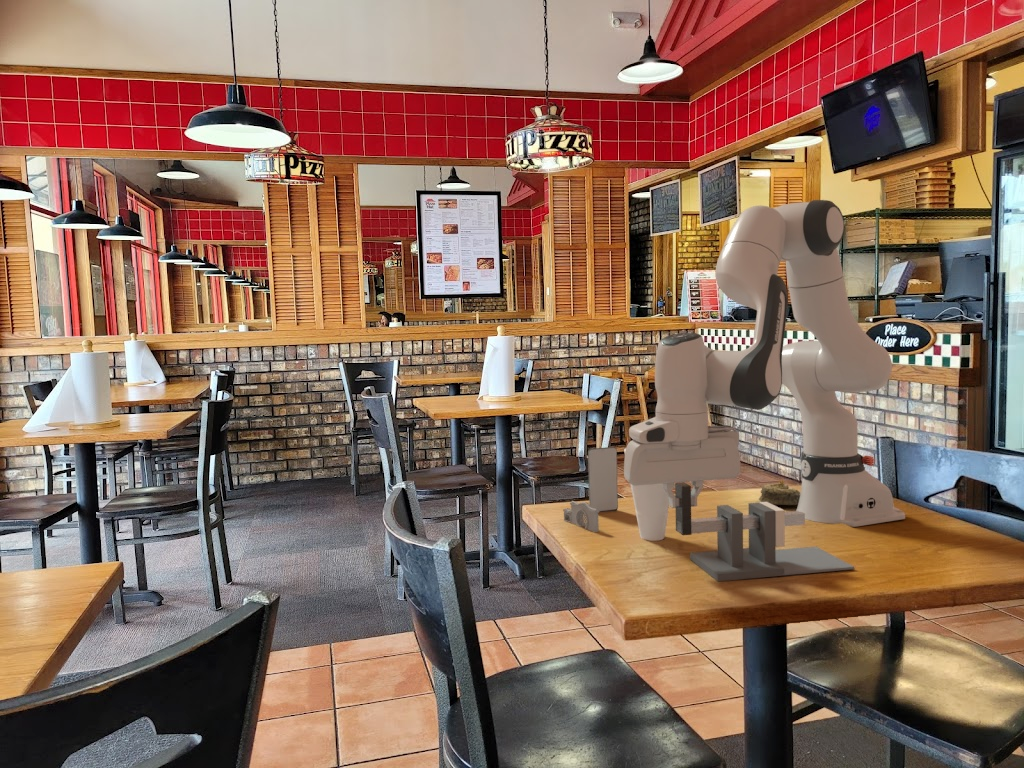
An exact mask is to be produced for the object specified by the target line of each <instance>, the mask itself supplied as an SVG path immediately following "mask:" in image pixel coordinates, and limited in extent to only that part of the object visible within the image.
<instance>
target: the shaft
mask: <svg viewBox="0 0 1024 768" xmlns="http://www.w3.org/2000/svg"><path fill="white" fill-rule="evenodd" d="M691 491H692V486H691V485H689V484H687V482H678V483H674V495H675V496H678V497H680V498H681V502H680V504H681V507H679V508H675V531H676V532H678V534H680V535H682V536H691V535H692V534H702V533H715V532H716V533H717V532H718V531H728V518H726V517H717V516H715V517H702V518H701V517H700V518H699V517H698V518H692V507H691ZM805 522H806V519H805V513H803V512H800V511H796V510H793V511H792V510H791V511H785V527H791V526H804V525H806V523H805ZM756 528H760V516H759V515H757V514H750V515H749V514H743V530H749V529H756Z"/></svg>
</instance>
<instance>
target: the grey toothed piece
mask: <svg viewBox="0 0 1024 768" xmlns="http://www.w3.org/2000/svg"><path fill="white" fill-rule="evenodd" d="M569 505H570V508H569V507H565V508H564V509H562V511H563V521H565V522H567V523H570V524H573V525H575V526H577V527H579V528H583V529H584V530H587V531H590V532H593V533H598V532H599V531H600V530H599V527H600V526H599V513H601V512H600V510H597V509H594V508H593V507H592V506H591V505H590V504H589V502H585V501H582V502H577V501H574V500H571V502H570V503H569Z"/></svg>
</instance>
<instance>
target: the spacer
mask: <svg viewBox="0 0 1024 768" xmlns="http://www.w3.org/2000/svg"><path fill="white" fill-rule="evenodd" d="M757 503H761V504H763V505H765V506H767V507H769V508H771V509H773V510H775V548H780V547H781V548H782V547H785V546H786V545H785V543H786V541H785V539H786V538H785V537H786V536H785V535H786V534H785V533H786V532H785V531H786V530H785V528H786V526H785V512H786V511H785V509H783V508H781V507H778V506H777V505H776V504H770V503H768V502H761V501H758V502H757Z"/></svg>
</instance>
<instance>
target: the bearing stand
mask: <svg viewBox="0 0 1024 768" xmlns="http://www.w3.org/2000/svg"><path fill="white" fill-rule="evenodd" d="M750 514H757V515H759V516H760V528H756V529H748V547H745V548H744V533H743V532H744V529H743V515H744V513H743V512H741V511H739V510H737V509H736V508H734V507H732V506H731V505H729V504H724V505H723V504H720V505H719V504H718V505H716V517H726V518H728V531H718V532H716V534H717V535H716V536H717V540H716V541H717V550H708V551H699V552H697V551H696V552H689V560H690V561H691V562H693V563H694V564H695V565H697V566H698V567H699V568H700V569H702V570H703V571H704V572H705V573H706V574H708V576H710V577H711V578H713V579H714V580H715V581H717V582H726V581H727V582H728V581H737V580H747V579H759V578H769V577H770V578H771V577H781V576H785V575H784V568H783V567H781V566H780V565H778V564H776V550H777V549H776V547H775V510H773V509H771V508H769V507H767V506H765V505H763V504H761V503H758V502H750V503H748V515H750Z"/></svg>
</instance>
